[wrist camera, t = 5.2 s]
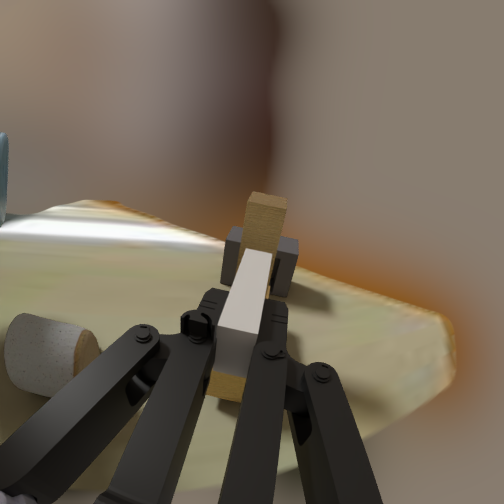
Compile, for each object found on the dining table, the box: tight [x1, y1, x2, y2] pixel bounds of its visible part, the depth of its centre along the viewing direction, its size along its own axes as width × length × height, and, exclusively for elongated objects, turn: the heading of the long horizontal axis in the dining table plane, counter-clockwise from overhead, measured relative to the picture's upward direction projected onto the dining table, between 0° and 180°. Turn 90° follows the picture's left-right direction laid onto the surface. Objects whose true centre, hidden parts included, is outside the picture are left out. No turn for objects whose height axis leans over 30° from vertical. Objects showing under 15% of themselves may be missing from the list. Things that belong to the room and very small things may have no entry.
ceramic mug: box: [4, 313, 100, 398], centre depth 20 cm, size 11×8×8 cm
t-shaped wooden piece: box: [206, 192, 287, 403], centre depth 25 cm, size 4×14×16 cm, turn 172°
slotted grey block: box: [220, 226, 299, 297], centre depth 42 cm, size 10×5×7 cm, turn 82°
